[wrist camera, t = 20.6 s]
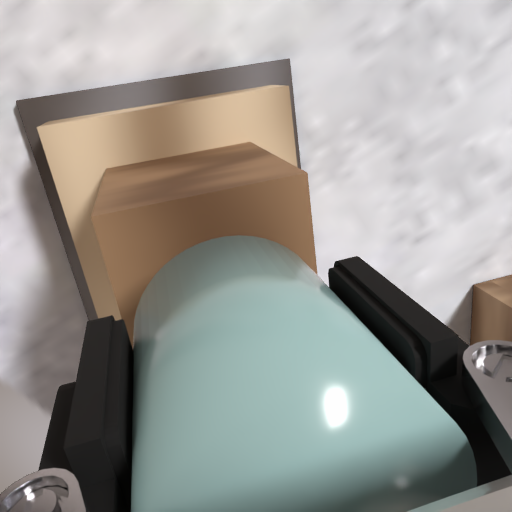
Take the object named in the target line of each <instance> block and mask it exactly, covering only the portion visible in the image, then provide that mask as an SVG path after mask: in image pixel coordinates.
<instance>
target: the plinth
mask: <svg viewBox="0 0 512 512" xmlns="http://www.w3.org/2000/svg"><path fill="white" fill-rule="evenodd" d="M16 103H17V106H18V109H19V112H20V115H21V118H22V121H23V124H24V127H25V130H26V133H27V136H28V139H29V142H30V145H31V148H32V151H33V154H34V157H35V160H36V163H37V166H38V169H39V172H40V175H41V178H42V181H43V184H44V187H45V190H46V193H47V196H48V199H49V202H50V205H51V208H52V211H53V214H54V217H55V220H56V223H57V226H58V229H59V232H60V235H61V238H62V241H63V244H64V247H65V250H66V253H67V256H68V259H69V262H70V265H71V268H72V271H73V274H74V277H75V280H76V283H77V286H78V289H79V292H80V295H81V298H82V301H83V304H84V307H85V310H86V313H87V316H88V319H89V321H90V320H95V319H99V318H103V317H107V316H111V315H113V317H114V319H115V321H117V320H121V319H122V318H121V315H120V312H119V308H118V305H117V302H116V298H115V295H114V292H113V288H112V285H111V282H110V278H109V275H108V272H107V268H106V265H105V262H104V259H103V255H102V252H101V249H100V245H99V242H98V239H97V235H96V232H95V229H94V225H93V222H92V219H91V215H92V212H93V209H94V205H95V202H96V199H97V196H98V193H99V189H100V186H101V183H102V180H103V177H104V173H105V170H106V168H112V167H117V166H123V165H128V164H133V163H139V162H144V161H149V160H155V159H160V158H165V157H171V156H176V155H181V154H187V153H192V152H197V151H203V150H208V149H214V148H219V147H224V146H230V145H235V144H240V143H246V142H252V143H254V144H255V145H257V146H259V147H261V148H263V149H265V150H266V151H268V152H270V153H272V154H274V155H276V156H277V157H279V158H281V159H283V160H285V161H287V162H288V163H290V164H292V165H294V166H296V167H298V168H300V169H301V165H300V155H299V145H298V135H297V126H296V116H295V106H294V96H293V86H292V76H291V66H290V59H283V60H277V61H270V62H264V63H257V64H251V65H244V66H238V67H231V68H225V69H218V70H212V71H205V72H199V73H192V74H186V75H179V76H173V77H166V78H160V79H153V80H147V81H140V82H134V83H127V84H121V85H115V86H108V87H102V88H95V89H89V90H82V91H76V92H69V93H63V94H56V95H50V96H43V97H37V98H30V99H24V100H17V101H16Z"/></svg>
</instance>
